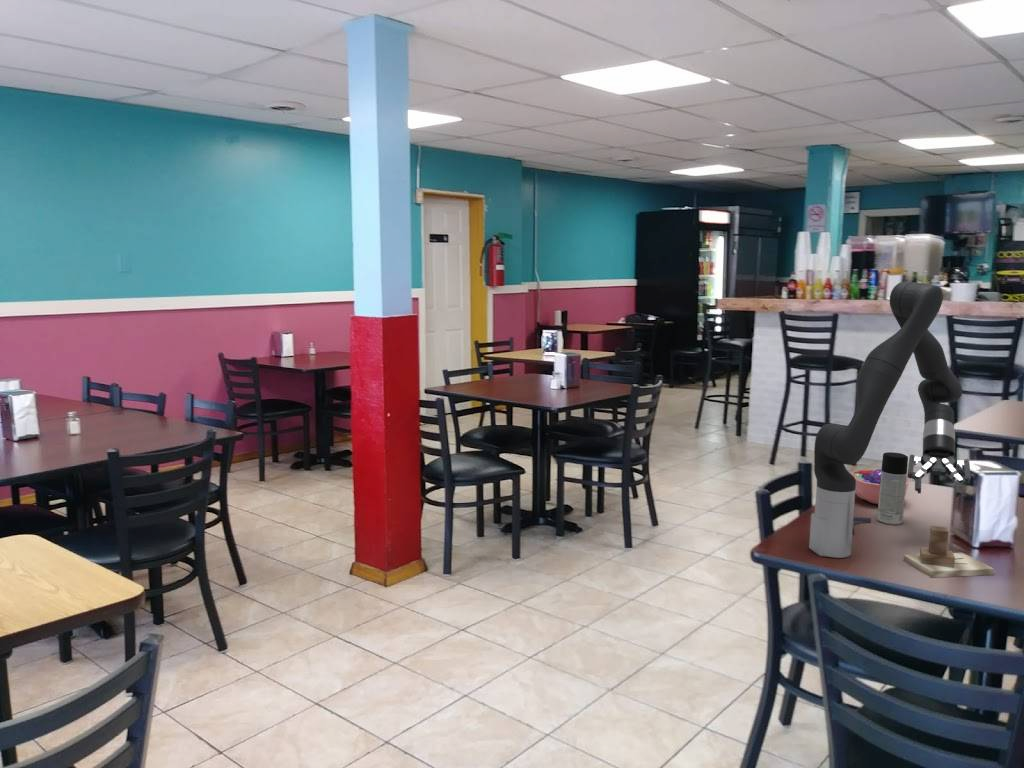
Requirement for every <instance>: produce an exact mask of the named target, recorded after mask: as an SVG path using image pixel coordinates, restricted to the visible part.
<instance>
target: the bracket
mask: <svg viewBox="0 0 1024 768" xmlns="http://www.w3.org/2000/svg"><path fill="white" fill-rule="evenodd" d="M871 521H872V519H871V517H860V516H854V517H853V531H852V536H854V535H855V527H854V526H856V525H860V524H861V523H862V524H871Z"/></svg>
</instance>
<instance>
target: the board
mask: <svg viewBox="0 0 1024 768" xmlns="http://www.w3.org/2000/svg"><path fill="white" fill-rule="evenodd" d="M953 554H954V557H955V562H954V568H952V567H944V566H937V565H929V564H922V563H921V560H920V553H917V554H916V553H915V554H903V560H902V561H904V562H905V563H906V564H908V565H910V566H912V567H914V568H915V569H917V570H918V571H920V572H922V573H923V574H925V575H927V576H928V577H930V578H949V577H975V576H994V574H995V568H993V567H991V566H990V565H988V564H985V563H984V562H982V561H980V560H978V559H976V558H974V557H972V556H970V555H968V554H967V553H964V552H953Z"/></svg>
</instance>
